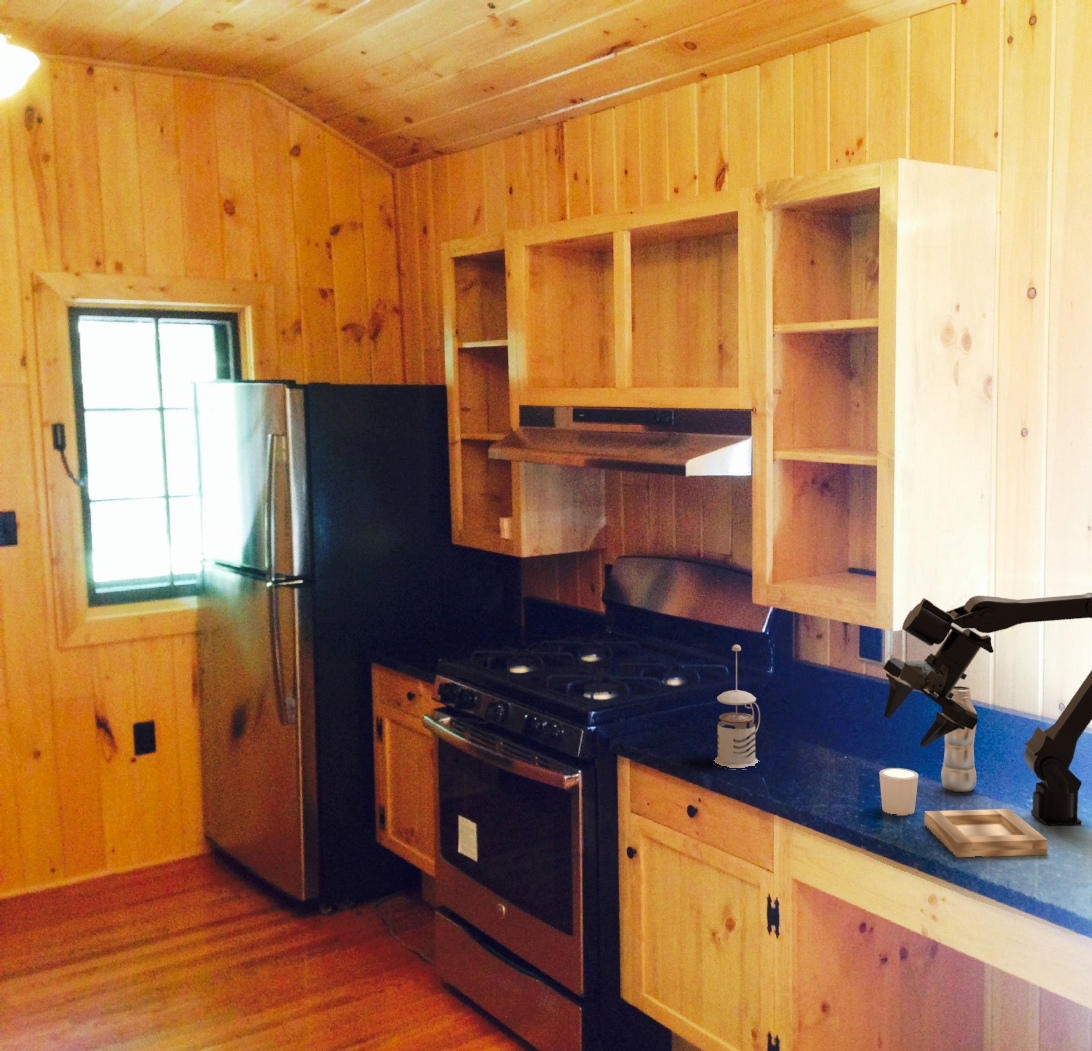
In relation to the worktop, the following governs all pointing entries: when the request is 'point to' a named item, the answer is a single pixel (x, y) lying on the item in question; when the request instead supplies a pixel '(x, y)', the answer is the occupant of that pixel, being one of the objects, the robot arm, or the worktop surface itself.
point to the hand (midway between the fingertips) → (903, 731)
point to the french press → (736, 729)
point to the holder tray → (985, 833)
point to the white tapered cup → (898, 790)
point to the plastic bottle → (960, 751)
